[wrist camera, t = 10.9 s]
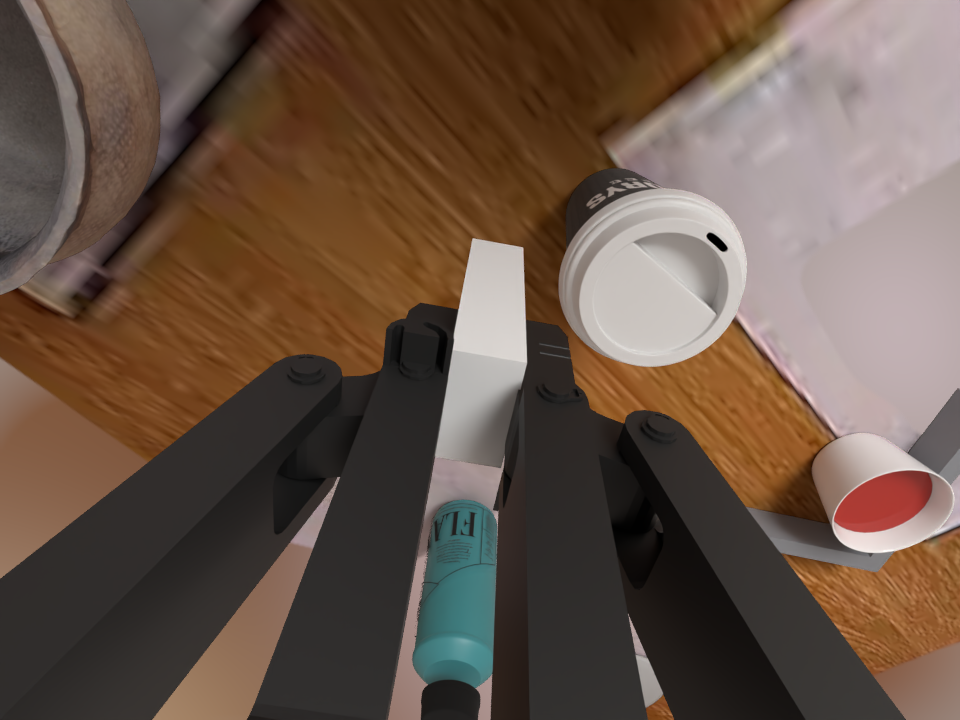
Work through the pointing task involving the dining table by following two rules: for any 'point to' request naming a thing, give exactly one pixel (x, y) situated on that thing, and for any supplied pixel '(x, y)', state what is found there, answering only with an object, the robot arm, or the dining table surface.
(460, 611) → the beverage bottle
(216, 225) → the dining table surface
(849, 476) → the candle
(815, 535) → the corner fence
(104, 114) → the ceramic bowl
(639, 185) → the coffee cup
